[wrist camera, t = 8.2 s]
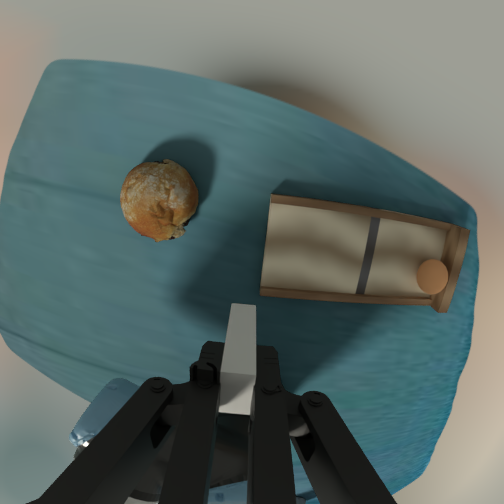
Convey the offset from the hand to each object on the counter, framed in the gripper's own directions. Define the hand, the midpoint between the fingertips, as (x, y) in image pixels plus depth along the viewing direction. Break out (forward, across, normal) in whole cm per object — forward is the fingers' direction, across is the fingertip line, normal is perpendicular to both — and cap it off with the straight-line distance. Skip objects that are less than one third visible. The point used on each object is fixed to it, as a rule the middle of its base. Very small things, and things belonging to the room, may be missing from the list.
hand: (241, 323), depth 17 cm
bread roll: (+20, +12, -5) cm, 24 cm away
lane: (+20, -17, 0) cm, 26 cm away
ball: (+16, -24, +1) cm, 29 cm away
